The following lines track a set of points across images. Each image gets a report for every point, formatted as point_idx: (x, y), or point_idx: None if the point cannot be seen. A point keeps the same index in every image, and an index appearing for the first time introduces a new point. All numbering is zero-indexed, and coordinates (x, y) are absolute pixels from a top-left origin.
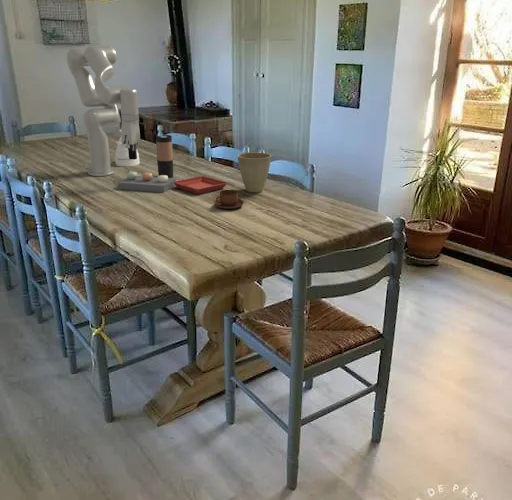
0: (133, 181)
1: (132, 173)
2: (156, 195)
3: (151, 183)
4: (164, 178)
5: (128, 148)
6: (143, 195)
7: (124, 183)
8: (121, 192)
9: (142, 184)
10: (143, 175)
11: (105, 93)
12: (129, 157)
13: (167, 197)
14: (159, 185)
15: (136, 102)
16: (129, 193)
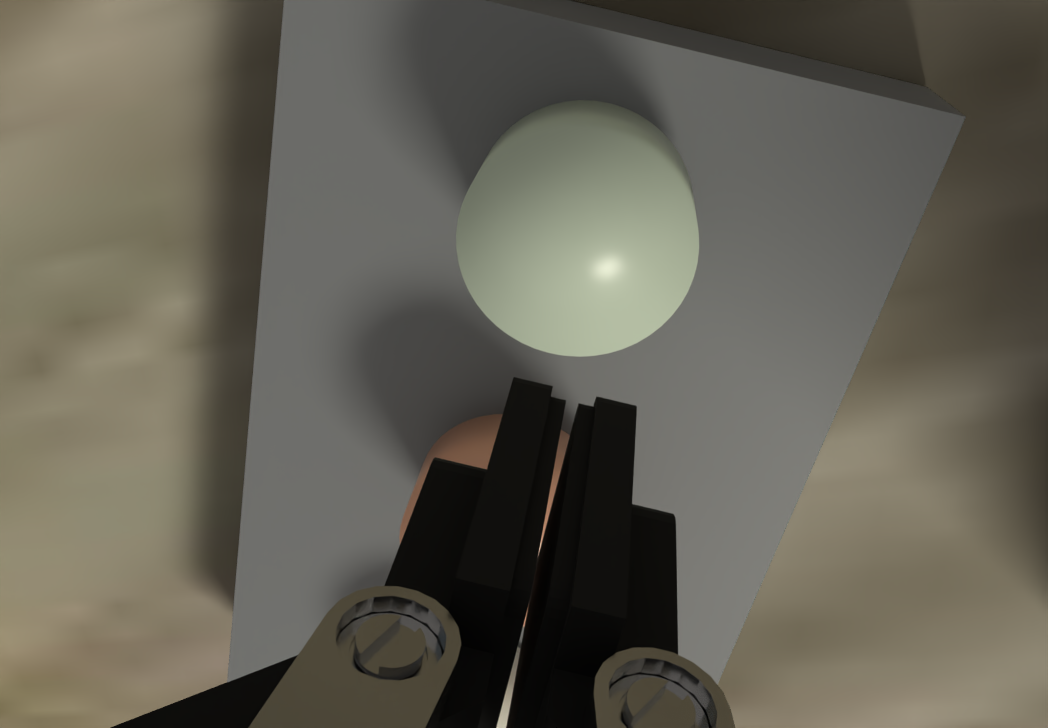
0: (420, 249)
1: (506, 272)
2: (108, 563)
3: (324, 548)
4: None
5: (180, 724)
6: (61, 417)
7: (281, 95)
8: (126, 54)
9: (250, 429)
10: (415, 490)
11: None
12: (501, 419)
13: (63, 673)
14: (232, 652)
15: None
16: (104, 205)
